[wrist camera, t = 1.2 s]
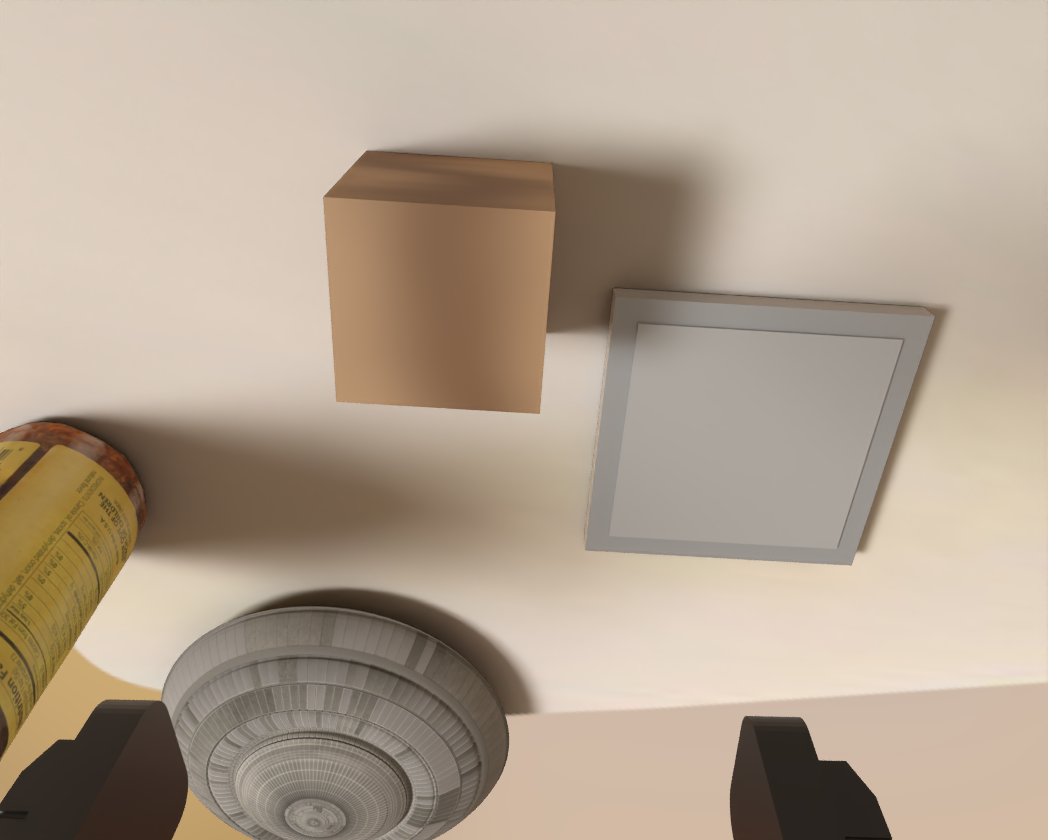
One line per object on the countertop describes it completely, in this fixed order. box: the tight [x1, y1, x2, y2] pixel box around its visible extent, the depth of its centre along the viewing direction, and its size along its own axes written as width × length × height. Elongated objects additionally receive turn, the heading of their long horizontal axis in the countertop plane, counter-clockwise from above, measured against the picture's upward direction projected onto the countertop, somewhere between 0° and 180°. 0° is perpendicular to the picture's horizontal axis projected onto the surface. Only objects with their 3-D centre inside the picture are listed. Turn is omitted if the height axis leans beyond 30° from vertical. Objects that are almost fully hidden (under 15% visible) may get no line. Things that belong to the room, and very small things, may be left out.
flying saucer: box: [161, 606, 509, 840], centre depth 34 cm, size 15×15×6 cm
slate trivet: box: [584, 288, 935, 565], centre depth 28 cm, size 10×10×1 cm
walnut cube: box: [323, 151, 556, 414], centre depth 23 cm, size 6×6×6 cm
